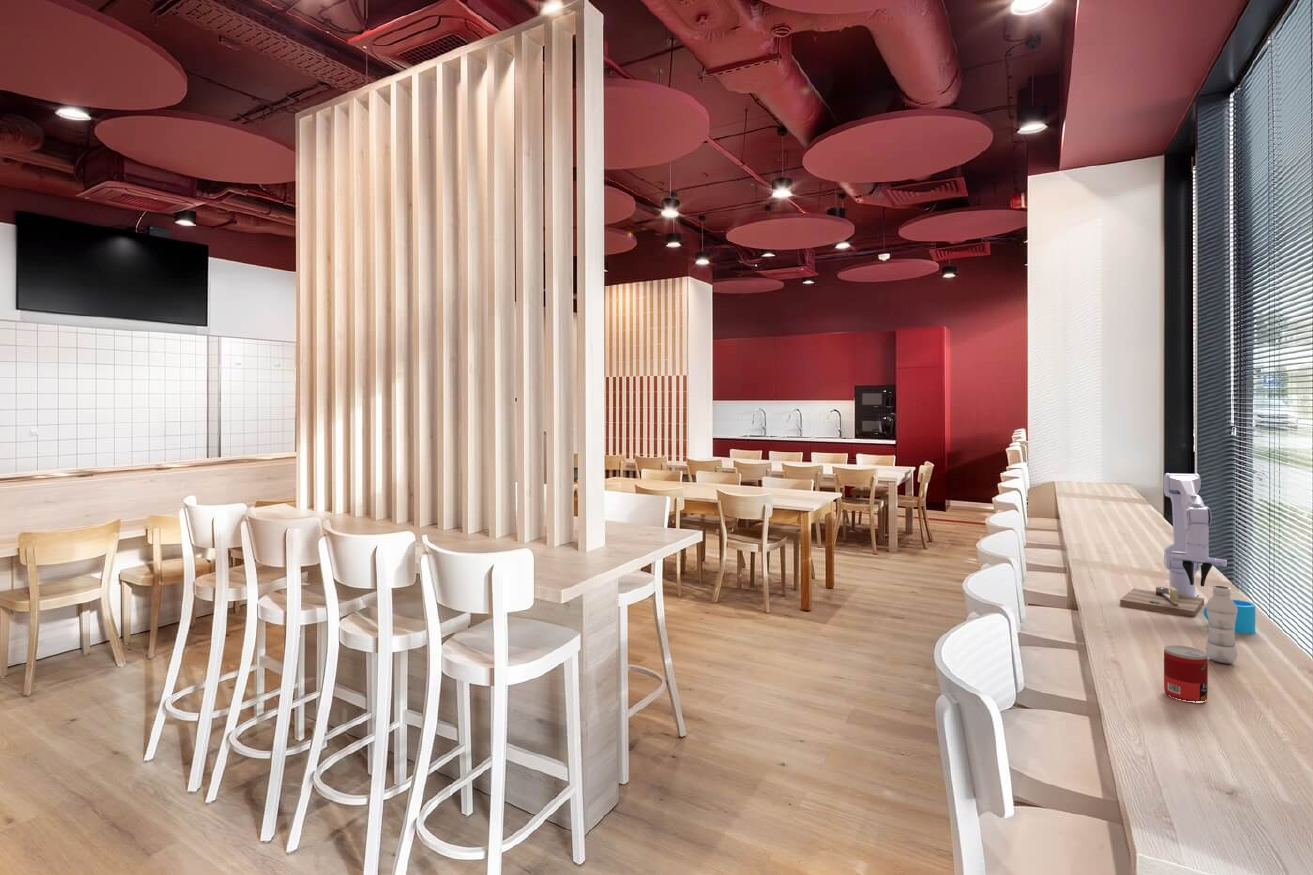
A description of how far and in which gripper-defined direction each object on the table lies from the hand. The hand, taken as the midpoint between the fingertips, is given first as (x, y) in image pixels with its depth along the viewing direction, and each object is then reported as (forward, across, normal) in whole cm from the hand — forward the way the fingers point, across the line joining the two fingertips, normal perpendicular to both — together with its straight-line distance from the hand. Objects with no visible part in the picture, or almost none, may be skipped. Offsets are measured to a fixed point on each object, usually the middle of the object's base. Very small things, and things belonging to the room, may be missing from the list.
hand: (1197, 585), depth 215 cm
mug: (+10, +9, -12) cm, 18 cm away
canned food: (+10, +8, -81) cm, 82 cm away
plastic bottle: (+10, +11, -48) cm, 50 cm away
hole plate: (+9, -10, +4) cm, 14 cm away
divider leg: (+7, -8, +5) cm, 12 cm away
